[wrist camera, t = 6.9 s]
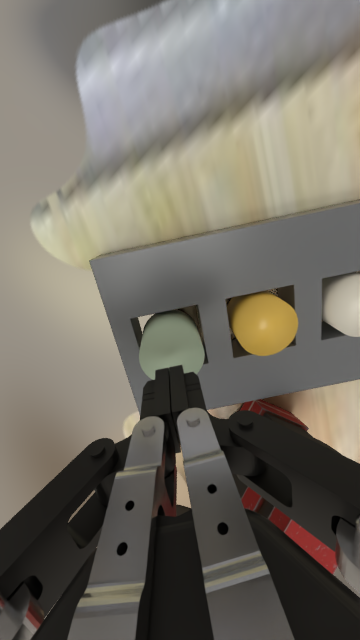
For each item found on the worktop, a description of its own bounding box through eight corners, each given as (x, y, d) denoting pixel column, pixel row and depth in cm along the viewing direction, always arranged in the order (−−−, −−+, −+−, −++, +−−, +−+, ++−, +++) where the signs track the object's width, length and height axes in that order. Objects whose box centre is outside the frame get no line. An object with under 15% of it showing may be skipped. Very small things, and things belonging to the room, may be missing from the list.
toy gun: (145, 540, 31) (152, 775, 16) (234, 373, 29) (332, 470, 15) (183, 549, 32) (221, 777, 18) (271, 390, 30) (396, 496, 16)
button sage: (192, 304, 19) (198, 320, 16) (202, 353, 21) (209, 377, 18) (136, 315, 19) (131, 334, 16) (150, 364, 21) (147, 390, 18)
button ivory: (361, 263, 20) (399, 271, 17) (358, 314, 22) (392, 330, 19) (307, 274, 20) (335, 285, 17) (308, 324, 22) (333, 342, 19)
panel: (384, 194, 19) (423, 189, 16) (369, 354, 24) (396, 371, 21) (99, 255, 19) (89, 260, 16) (145, 399, 24) (142, 422, 22)
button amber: (276, 281, 20) (297, 293, 17) (278, 330, 22) (298, 349, 19) (222, 292, 20) (233, 306, 17) (229, 340, 22) (240, 361, 19)
